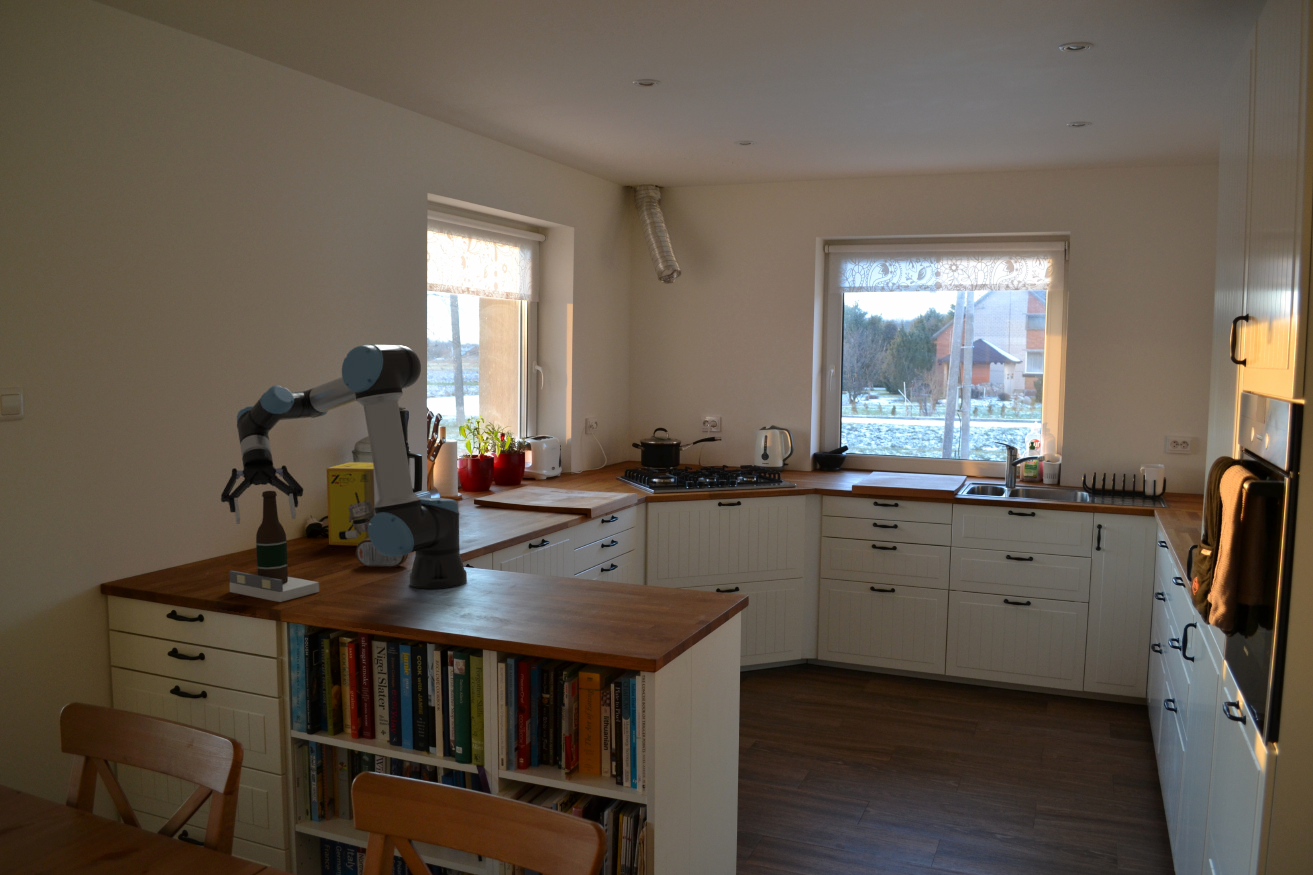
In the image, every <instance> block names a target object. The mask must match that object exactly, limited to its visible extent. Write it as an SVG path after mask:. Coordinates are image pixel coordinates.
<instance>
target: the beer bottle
mask: <svg viewBox="0 0 1313 875" xmlns="http://www.w3.org/2000/svg"><path fill="white" fill-rule="evenodd" d="M277 494H278V493H277V491H275V490H266V491H262V494H261V497H262V500H263V501H262V503H263V504H262V520H261V523H260V525H259V527H258V529H257V530H256V535H255V539H256V540H255V549H256V569H257V570H256V573H257V574H256V575H259V576H264V577H270V578H275V579H280V580H282V584H284V583H287V582H288V577H289V571H288V570H289V569H288V567H289V566H288V565H289V564H288V546H287V534H286V532H285V528H284V527H283V525H282V524H281V522H280V521H279V520H280V519H279V516H278V515H279V514H278V507H277V506H278V505H277V496H278V495H277Z"/></svg>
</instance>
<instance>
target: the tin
mask: <svg viewBox="0 0 1313 875" xmlns="http://www.w3.org/2000/svg"><path fill="white" fill-rule="evenodd" d="M355 556H356V559H357V561H358V562H359V563H360V564H361V565H362V566H364V567H368V568H397V567H399V566H401V565H403V564H405V562H406V561H407V558H408V556H409V554H407V555H402V556H396V557H390V556H386V555H383V554H382V553H381V552H380V551H379V550H377V549H376V548H375V547H374V546H373V544H372V542H371V540H370V538H366V539H364V540H362V541H361V542H360V543H359V544H358V546H356V549H355Z"/></svg>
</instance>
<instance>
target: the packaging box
mask: <svg viewBox="0 0 1313 875" xmlns="http://www.w3.org/2000/svg"><path fill="white" fill-rule="evenodd" d="M326 488H327V489H326V492H327V493H326V494H327V495H326V496H327V519H328V520H327V521H328V522H327V523H328V543H329V544H328V545H330V546H331V545H333V546H356V547H357V546H358V544H359V543H360V542H361V541H362V540H364V539H366V538H370V537H369V532H368V527H369V523H371V522H370V521H371V519H372V518H373V517H374V516H375V509H374V506H375V504H376V503H377V502H378V500H379V495H378V489H377V483H376V477H375V471H374V465H373V462H356V461H355V462H354V461H350V462H346V463H342V464H337V465H333V466H330V467H327V468H326Z"/></svg>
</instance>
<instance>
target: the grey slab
mask: <svg viewBox="0 0 1313 875" xmlns="http://www.w3.org/2000/svg"><path fill="white" fill-rule="evenodd" d="M228 572H229V592H230V593H233V594H238V595H239V594H240V595H242V596H248V597H253V598H258V599H261V600H267V601H271V602H273V601H274V602H278V603H283V602H285V601H289V600H293V599H297V598H302V597H305V596H309V595H312V594H317V593H319V592H320V583H319V581H312V580H308V579H303V578H297V577H292V576H288V582H287V583H284V584H282V580H280V579H275V578H270V577H264V576H259V575H257V574H253V573H247V572H242V571H238V570H237V571H236V570H229V571H228Z"/></svg>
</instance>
